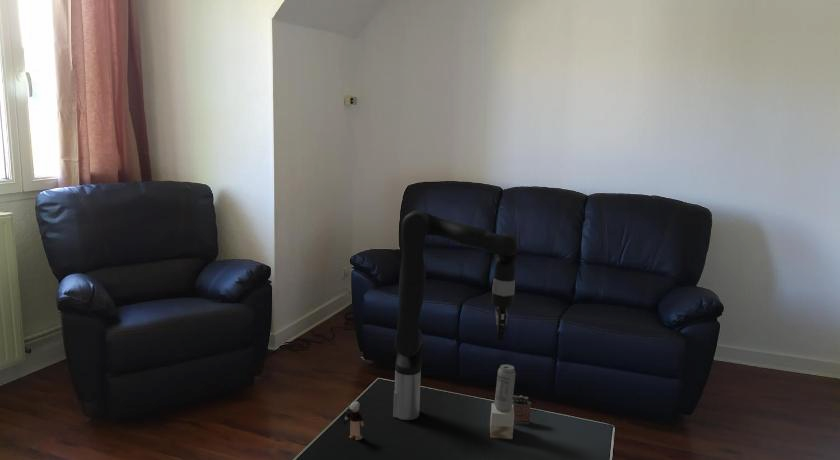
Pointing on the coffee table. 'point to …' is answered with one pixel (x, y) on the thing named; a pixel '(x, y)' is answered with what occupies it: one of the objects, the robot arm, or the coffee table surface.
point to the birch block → (501, 431)
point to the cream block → (502, 417)
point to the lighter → (521, 410)
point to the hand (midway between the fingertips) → (499, 336)
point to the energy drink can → (505, 387)
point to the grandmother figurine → (355, 421)
